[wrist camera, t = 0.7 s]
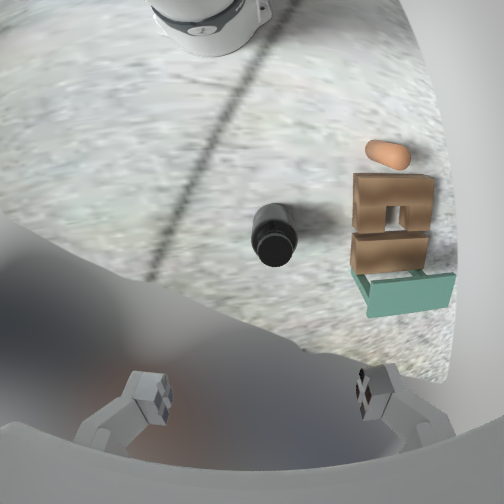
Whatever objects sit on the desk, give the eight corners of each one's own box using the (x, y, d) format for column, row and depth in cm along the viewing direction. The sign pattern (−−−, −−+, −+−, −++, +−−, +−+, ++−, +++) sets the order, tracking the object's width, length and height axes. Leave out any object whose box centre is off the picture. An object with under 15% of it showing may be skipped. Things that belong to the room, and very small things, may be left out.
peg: (365, 139, 44) (388, 144, 35) (384, 140, 44) (410, 145, 35) (365, 160, 46) (388, 170, 37) (384, 160, 45) (410, 170, 36)
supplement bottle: (252, 203, 50) (249, 227, 39) (293, 202, 49) (301, 226, 38) (253, 241, 52) (251, 274, 41) (292, 240, 52) (300, 273, 41)
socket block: (353, 173, 47) (360, 177, 43) (423, 174, 46) (434, 179, 42) (350, 264, 54) (355, 274, 50) (414, 259, 53) (423, 269, 49)
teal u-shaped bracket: (348, 244, 52) (373, 284, 39) (419, 240, 51) (456, 275, 38) (346, 274, 54) (368, 318, 42) (415, 268, 53) (447, 307, 41)
